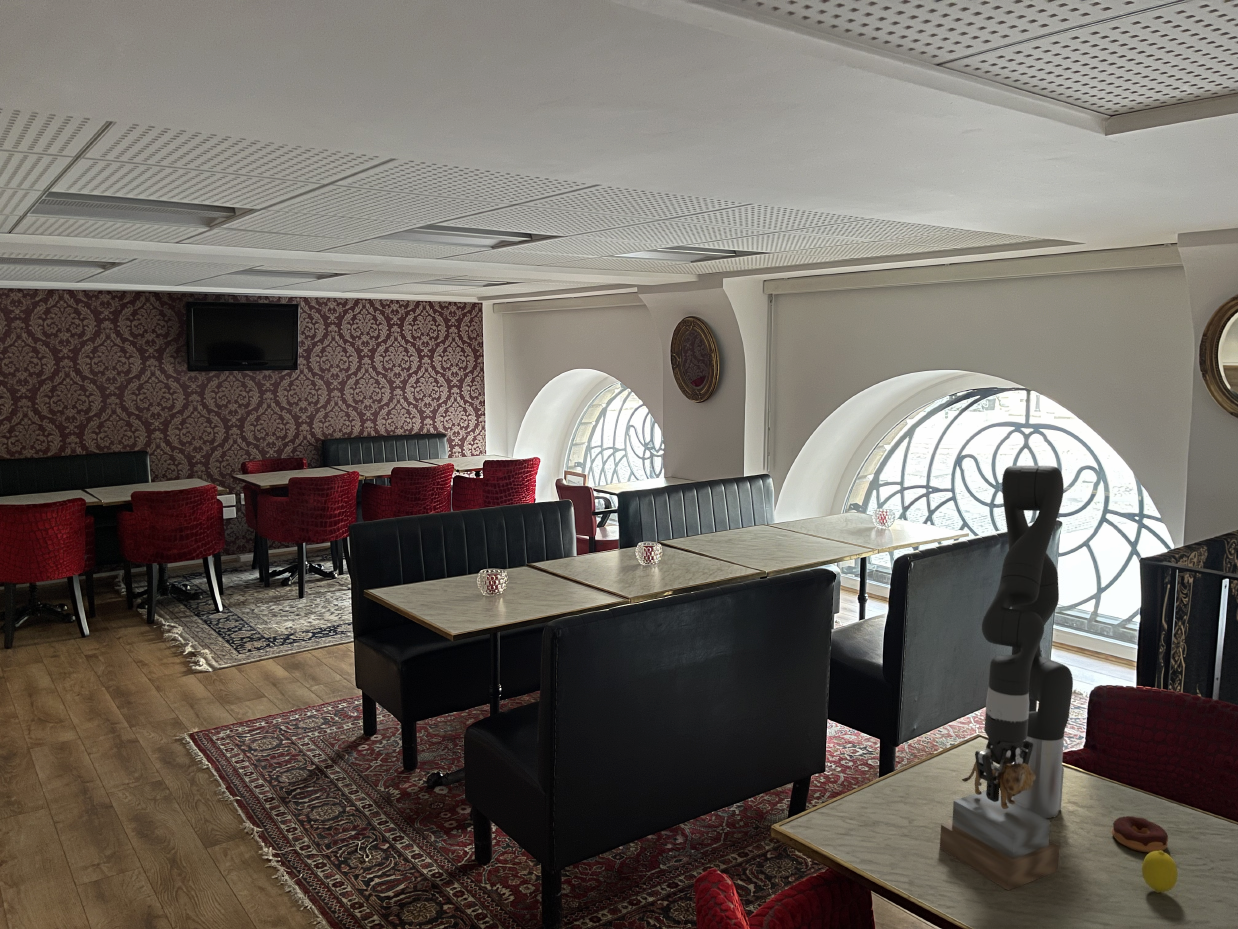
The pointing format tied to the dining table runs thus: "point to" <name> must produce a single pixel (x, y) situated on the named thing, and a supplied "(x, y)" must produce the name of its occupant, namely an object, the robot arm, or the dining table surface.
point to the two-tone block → (1000, 841)
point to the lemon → (1159, 871)
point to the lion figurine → (1008, 781)
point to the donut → (1140, 834)
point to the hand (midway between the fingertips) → (1001, 796)
